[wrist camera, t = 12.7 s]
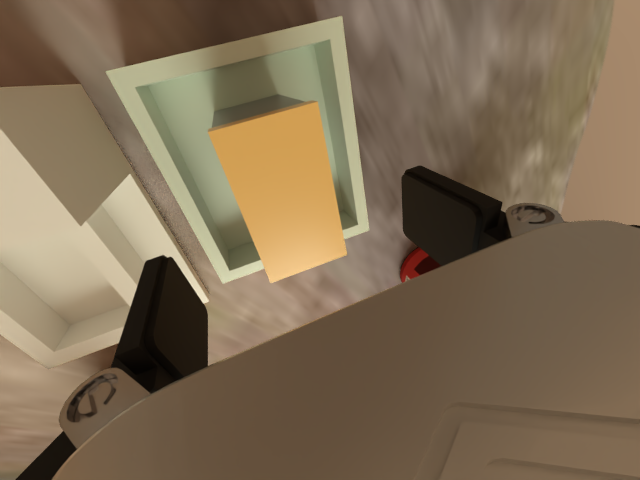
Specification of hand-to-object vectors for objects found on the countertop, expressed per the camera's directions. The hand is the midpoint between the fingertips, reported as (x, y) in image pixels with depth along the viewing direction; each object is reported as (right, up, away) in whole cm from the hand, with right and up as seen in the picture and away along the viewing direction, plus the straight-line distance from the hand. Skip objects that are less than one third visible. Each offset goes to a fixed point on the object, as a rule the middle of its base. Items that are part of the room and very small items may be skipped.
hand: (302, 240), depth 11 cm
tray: (-4, +7, +13) cm, 16 cm away
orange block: (-4, +7, +12) cm, 15 cm away
